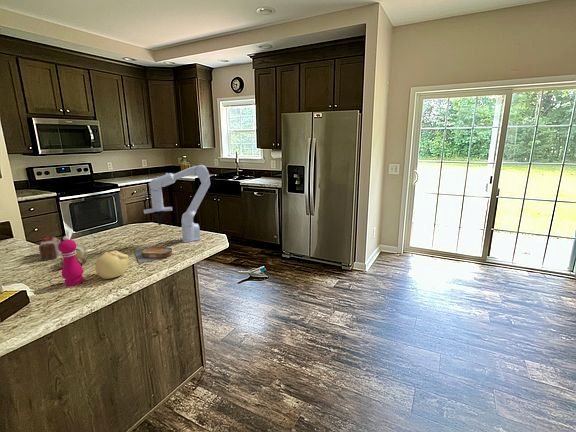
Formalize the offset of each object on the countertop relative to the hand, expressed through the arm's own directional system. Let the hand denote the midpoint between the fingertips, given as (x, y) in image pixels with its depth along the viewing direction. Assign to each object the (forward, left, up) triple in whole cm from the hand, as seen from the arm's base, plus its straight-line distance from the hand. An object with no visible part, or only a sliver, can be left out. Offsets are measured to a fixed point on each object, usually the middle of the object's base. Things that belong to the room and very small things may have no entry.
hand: (159, 224), depth 169 cm
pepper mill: (+40, +33, -11) cm, 53 cm away
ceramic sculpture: (+40, +9, -11) cm, 43 cm away
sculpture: (+26, +34, -11) cm, 44 cm away
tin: (+3, +17, -9) cm, 19 cm away
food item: (+51, -10, -11) cm, 53 cm away
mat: (+10, +16, -10) cm, 21 cm away
